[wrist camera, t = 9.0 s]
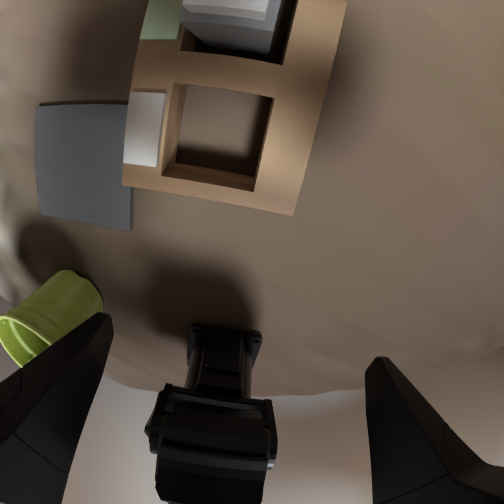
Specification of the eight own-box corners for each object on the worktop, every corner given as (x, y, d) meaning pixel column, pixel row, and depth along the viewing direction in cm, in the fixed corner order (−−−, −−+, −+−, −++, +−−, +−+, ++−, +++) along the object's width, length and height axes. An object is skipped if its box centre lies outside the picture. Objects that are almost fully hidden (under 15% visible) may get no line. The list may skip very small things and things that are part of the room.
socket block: (287, 197, 18) (293, 218, 16) (140, 171, 18) (119, 187, 15) (337, -1, 11) (352, -18, 8) (176, -25, 11) (160, -44, 8)
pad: (132, 228, 20) (129, 231, 20) (43, 211, 19) (40, 214, 19) (140, 105, 15) (137, 105, 15) (40, 105, 15) (36, 106, 14)
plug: (268, 55, 14) (274, 24, 7) (208, 46, 14) (168, 13, 7) (280, 6, 12) (294, -51, 5) (220, -3, 12) (193, -61, 5)
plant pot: (75, 332, 27) (44, 392, 20) (28, 265, 22) (-20, 321, 15) (136, 323, 25) (106, 398, 18) (83, 241, 21) (25, 310, 13)
